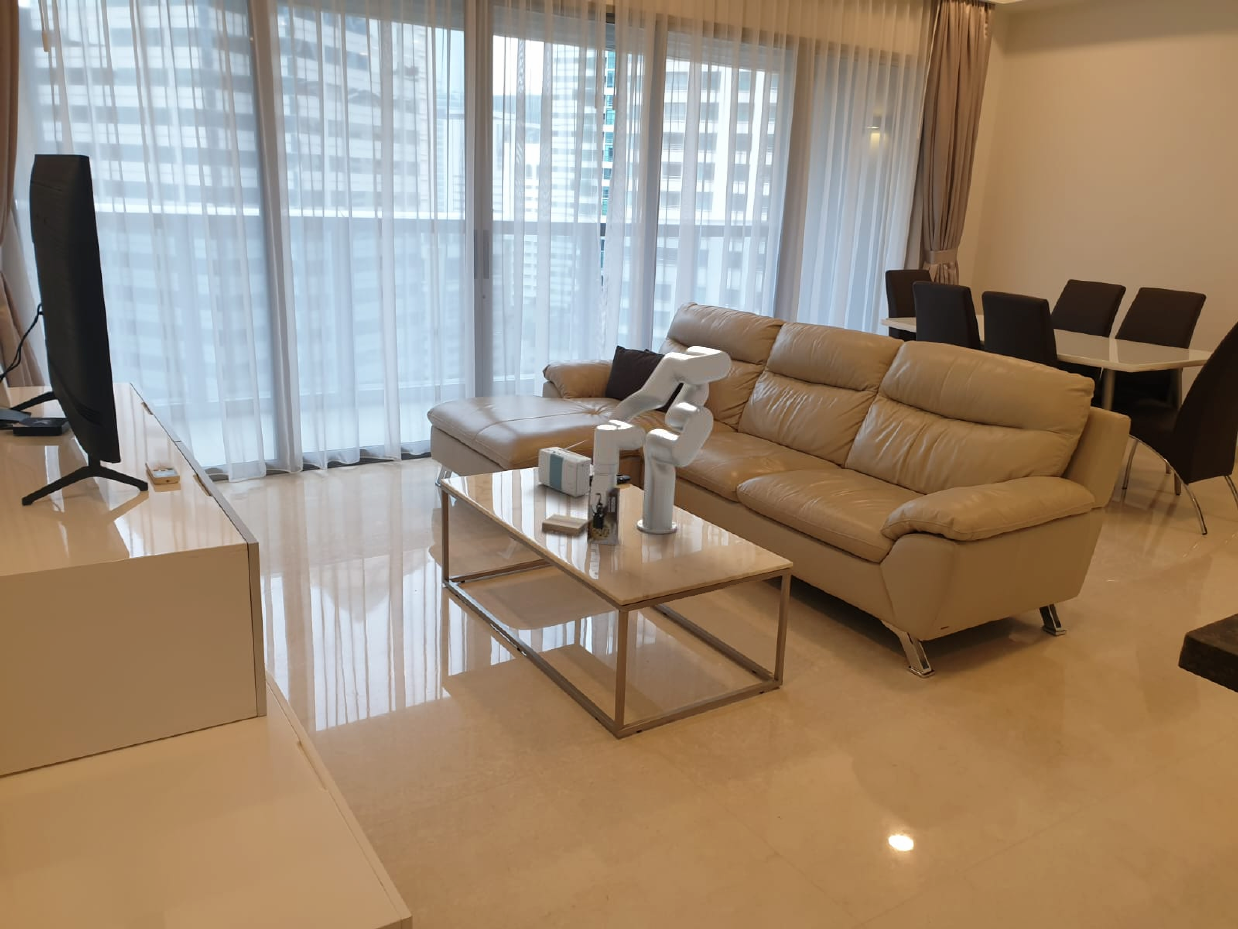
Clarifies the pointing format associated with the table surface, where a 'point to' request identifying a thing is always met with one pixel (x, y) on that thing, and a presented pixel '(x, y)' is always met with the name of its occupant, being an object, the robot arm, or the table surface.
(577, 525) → the flat wooden block
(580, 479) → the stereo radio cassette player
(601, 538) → the coffee box
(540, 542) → the table surface
